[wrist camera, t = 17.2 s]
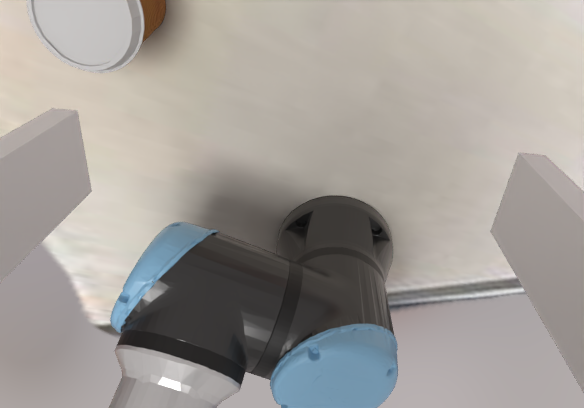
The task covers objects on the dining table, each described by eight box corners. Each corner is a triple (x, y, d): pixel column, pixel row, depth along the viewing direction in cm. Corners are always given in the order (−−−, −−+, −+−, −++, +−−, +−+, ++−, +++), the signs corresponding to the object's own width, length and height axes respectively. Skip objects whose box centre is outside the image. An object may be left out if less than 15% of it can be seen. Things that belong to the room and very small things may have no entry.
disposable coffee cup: (196, -15, 45) (156, -5, 34) (160, 66, 49) (114, 97, 39) (108, -73, 43) (37, -81, 32) (78, 17, 47) (7, 36, 37)
